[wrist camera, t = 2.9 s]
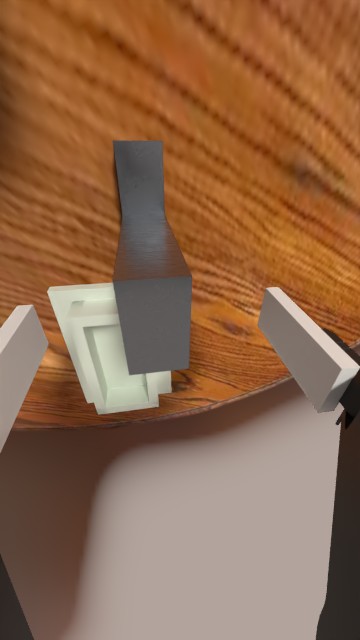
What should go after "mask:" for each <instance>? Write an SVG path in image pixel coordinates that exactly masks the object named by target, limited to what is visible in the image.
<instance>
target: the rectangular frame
mask: <svg viewBox="0 0 360 640" xmlns="http://www.w3.org/2000/svg"><path fill="white" fill-rule="evenodd" d="M47 292H48V295H49V298H50V301H51V303H52V306H53V309H54V312H55V315H56V317H57V320H58V323H59V326H60V328H61V331H62V334H63V337H64V340H65V342H66V345H67V348H68V351H69V353H70V356H71V359H72V362H73V364H74V367H75V370H76V373H77V376H78V378H79V381H80V384H81V387H82V389H83V392H84V395H85V398H86V401H87V403H93V402H94V404H95V407H96V410H97V413H98V415H100V414H107V413H115V412H122V411H130V410H137V409H145V408H152V407H159V402H158V394H164V393H171V371H164V372H155V373H146V374H138V375H129V372H128V366H127V360H126V355H125V349H124V343H123V338H122V332H121V326H120V321H119V315H118V309H117V304H116V298H115V292H114V287H113V283H100V284H85V285H71V286H56V287H50V288H49V289H48V291H47Z"/></svg>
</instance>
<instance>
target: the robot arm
mask: <svg viewBox="0 0 360 640" xmlns="http://www.w3.org/2000/svg"><path fill="white" fill-rule="evenodd" d="M258 327H259V328H260V329H261V331H262V332H263V334H264V335H265V337H266V338H267V340H268V341H269V342H270V344H271V345H272V347H273V348H274V350H275V351H276V353H277V354H278V356H279V357H280V358H281V360H282V361H283V363H284V364H285V366H286V367H287V369H288V370H289V371H290V373H291V374H292V376H293V377H294V379H295V380H296V382H297V383H298V384H299V386H300V387H301V389H302V390H303V392H304V393H305V395H306V396H307V397H308V399H309V400H310V402H311V403H312V405H313V406H314V408H315V409H316V410H317V412H318V413H321V412H328V411H334V410H335V408H336V406H337V405H338V403H339V402H340V403H341V404H342V406H343V407H344V408H345V409H344V410H343V412H342V414H341V415H340V417H339V418H338V420H337V422H336V425H339V423H340V422H341V430H340V442H339V454H338V466H337V477H336V490H335V501H334V512H333V513H334V514H333V524H332V536H331V547H330V560H329V571H328V583H327V593H326V600H325V604H324V607H323V609H322V612H321V614H320V618H319V621H318V626H317V634H316V640H360V356H359V355H358V354H357V353H355V352H354V351H353V350H352V349H351V348H349V346H348V345H347V344H346V343H343V340H341V339H340V338H339V337H338V336H337V335H336V334H335V333H333V332H331V331H329V330H327V329H326V328H323V329H321V328H320V327H319V326H318V325H317V324H316V323H314V322H313V321H312V320H311V319H310V318H309V317H308V316H307V315H306V314H305V313H304V312H303V311H302V310H301V309H300V308H299V307H298V306H297V305H296V304H295V303H294V302H293V301H292V300H291V299H290V298H289V297H288V296H287V295H286V294H285V293H284V292H283V291H282V290H280V289H279V288H278V287H272V288H266V290H265V294H264V299H263V303H262V307H261V312H260V316H259V321H258ZM48 345H49V343H48V341H47V338H46V336H45V333H44V331H43V328H42V326H41V323H40V321H39V318H38V316H37V314H36V311H35V309H34V306H33V305H22V306H17V307H16V308H15V310H14V311H13V312H12V314H11V315H10V316H9V318H8V319H7V320H6V322H5V323H4V324H3V326H2V327H1V328H0V452H1V450H2V448H3V446H4V444H5V441H6V439H7V437H8V435H9V432H10V430H11V428H12V426H13V423H14V421H15V419H16V417H17V414H18V412H19V410H20V408H21V405H22V403H23V401H24V399H25V396H26V394H27V392H28V390H29V387H30V385H31V383H32V381H33V379H34V376H35V374H36V372H37V370H38V367H39V365H40V363H41V361H42V358H43V356H44V354H45V352H46V349H47V347H48ZM0 640H34V639H33V636H32V633H31V631H30V628H29V626H28V623H27V621H26V618H25V616H24V613H23V610H22V608H21V605H20V603H19V600H18V598H17V595H16V593H15V590H14V588H13V585H12V582H11V580H10V577H9V575H8V572H7V570H6V567H5V565H4V562H3V560H2V557H1V554H0Z"/></svg>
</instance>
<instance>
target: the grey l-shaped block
mask: <svg viewBox="0 0 360 640" xmlns="http://www.w3.org/2000/svg"><path fill="white" fill-rule="evenodd" d="M113 145H114V153H115V161H116V169H117V177H118V184H119V192H120V200H121V208H122V222H121V229H120V236H119V242H118V249H117V256H116V262H115V269H114V275H113V287H114V292H115V298H116V304H117V309H118V315H119V321H120V326H121V332H122V338H123V343H124V349H125V355H126V360H127V366H128V372H129V375H138V374H146V373H155V372H164V371H173V370H181V369H189V351H190V322H191V293H192V275H191V273H190V270H189V268H188V266H187V264H186V261H185V259H184V257H183V255H182V252H181V250H180V248H179V246H178V243H177V241H176V239H175V237H174V234H173V232H172V230H171V227H170V225H169V223H168V221H167V218H166V216H165V209H164V177H163V146H162V141H113Z"/></svg>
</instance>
